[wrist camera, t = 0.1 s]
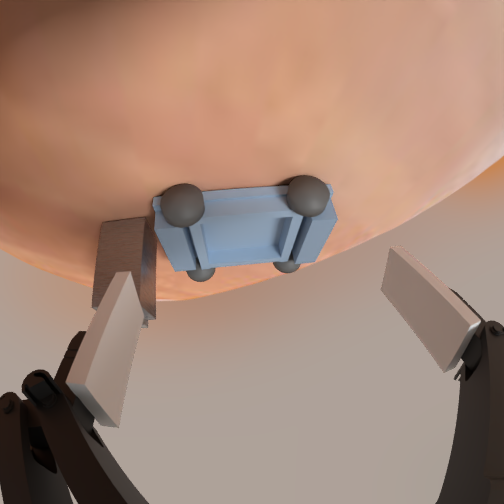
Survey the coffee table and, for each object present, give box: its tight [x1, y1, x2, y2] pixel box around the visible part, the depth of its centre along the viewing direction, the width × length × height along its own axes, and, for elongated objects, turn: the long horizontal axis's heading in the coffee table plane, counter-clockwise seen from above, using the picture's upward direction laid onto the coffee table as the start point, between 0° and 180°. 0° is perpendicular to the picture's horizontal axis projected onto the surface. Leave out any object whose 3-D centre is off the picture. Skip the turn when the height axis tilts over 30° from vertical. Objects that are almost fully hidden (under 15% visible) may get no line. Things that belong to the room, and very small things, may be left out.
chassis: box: [153, 175, 338, 282], centre depth 34 cm, size 16×20×4 cm
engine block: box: [92, 217, 157, 328], centre depth 31 cm, size 6×6×12 cm
